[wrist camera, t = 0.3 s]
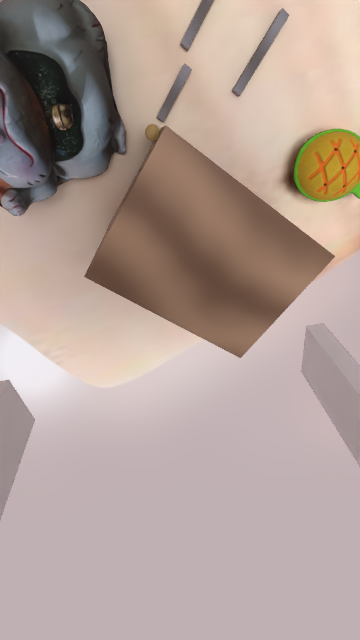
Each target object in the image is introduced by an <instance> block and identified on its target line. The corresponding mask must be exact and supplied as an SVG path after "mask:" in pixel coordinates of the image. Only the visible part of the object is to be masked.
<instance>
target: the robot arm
mask: <svg viewBox="0 0 360 640" xmlns="http://www.w3.org/2000/svg"><path fill="white" fill-rule="evenodd" d="M301 372H302V374H303V375H304V377H305V378H306V380H307V382H308V383H309V385H310V387H311V388H312V390H313V392H314V393H315V395H316V396H317V398H318V400H319V401H320V403H321V405H322V406H323V408H324V409H325V411H326V413H327V414H328V416H329V417H330V419H331V421H332V422H333V424H334V425H335V427H336V429H337V430H338V432H339V434H340V435H341V437H342V439H343V440H344V442H345V443H346V445H347V447H348V448H349V450H350V451H351V453H352V455H353V456H354V458H355V460H356V461H357V463H358V464H359V466H360V365H359V364H358V362H357V361H356V360H355V359H354V358H353V357H352V355H351V354H350V353H349V352H348V351H347V350H346V348H344V346H343V345H342V344H341V343H340V342H339V340H338V339H337V338H336V337H335V336H334V335H333V334H332V332H331V331H330V330H329V329H328V328H327V327H326V325H325V324H324V323H322V324H316V325H311V326H307V327H306V335H305V342H304V351H303V361H302V370H301ZM34 421H35V419H34V417H33V416H32V414H31V413H30V411H29V410H28V408H27V407H26V405H25V404H24V402H23V401H22V399H21V397H20V396H19V395H18V393H17V391H16V390H15V388H14V387H13V386H12V384H11V382H10V381H9V380H5V381H0V519H1V516H2V513H3V511H4V507H5V505H6V502H7V499H8V496H9V493H10V490H11V487H12V485H13V482H14V479H15V476H16V473H17V470H18V467H19V464H20V461H21V458H22V456H23V453H24V450H25V447H26V444H27V441H28V438H29V436H30V433H31V430H32V427H33V424H34Z"/></svg>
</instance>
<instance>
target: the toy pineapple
mask: <svg viewBox="0 0 360 640" xmlns="http://www.w3.org/2000/svg"><path fill="white" fill-rule="evenodd" d="M294 181H295V184H296V186H297V188H298V190H299V191H300V192H301V193H302V194H303V195H304V196H306V197H308V198H310V199H312V200H315V201H322V202H326V201H333V200H337V199H340V198H342V197H344V196H346V195H347V194H349V193H353V194H354V195H355V196H356V197H357V198H359V199H360V137H359V136H358V135H357V134H355V133H353V132H351V131H348V130H344V129H331V130H327V131H323V132H321V133H318V134H316V135H315V136H313V137H312V138H310V139H309V140H308V141H307V142H306V143H305V144H304V145H303V146H302V148H301V149H300V151H299V153H298V156H297V158H296V161H295V166H294Z"/></svg>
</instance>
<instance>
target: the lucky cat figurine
mask: <svg viewBox="0 0 360 640" xmlns="http://www.w3.org/2000/svg"><path fill="white" fill-rule="evenodd" d="M125 142H126V132H125V129H124V124H123V122H122V119H121V117H120V115H119V113H118V110H117V107H116V104H115V100H114V97H113V92H112V85H111V78H110V70H109V63H108V53H107V42H106V41H105V35H104V32H103V29H102V26H101V24H100V22H99V21H98V20H97V18H96V16H95V15H94V14H93V13H92V12H91V11H90V9H89V8H88V7H87V6H86V5H85V4H84V3H82V2H81V1H79V0H2V1H1V2H0V206H1V207H3V208H4V209H6V210H7V211H8V212H10V213H11V214H12V215H14V216H16V215H18V216H20V215H22V214H24V213H25V211H26V210H27V209H28V207H29V206H30V204H32V203H34V202H37V201H43V200H45V199H47V198H48V197H50V196H52V195H54V194H55V193H56V191H57V187H58V186H59V185H61V184H63V183H65V182H67V181H69V180H71V179H74V178H76V179H83V178H88V177H93V176H97V175H99V174H101V173H102V172H103V171H105V170H106V169H107V168H108V164H109V162H110V158H111V155H112V154H113V153H114V152H118V153H121V154H123V153H125V151H126V143H125Z"/></svg>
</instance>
